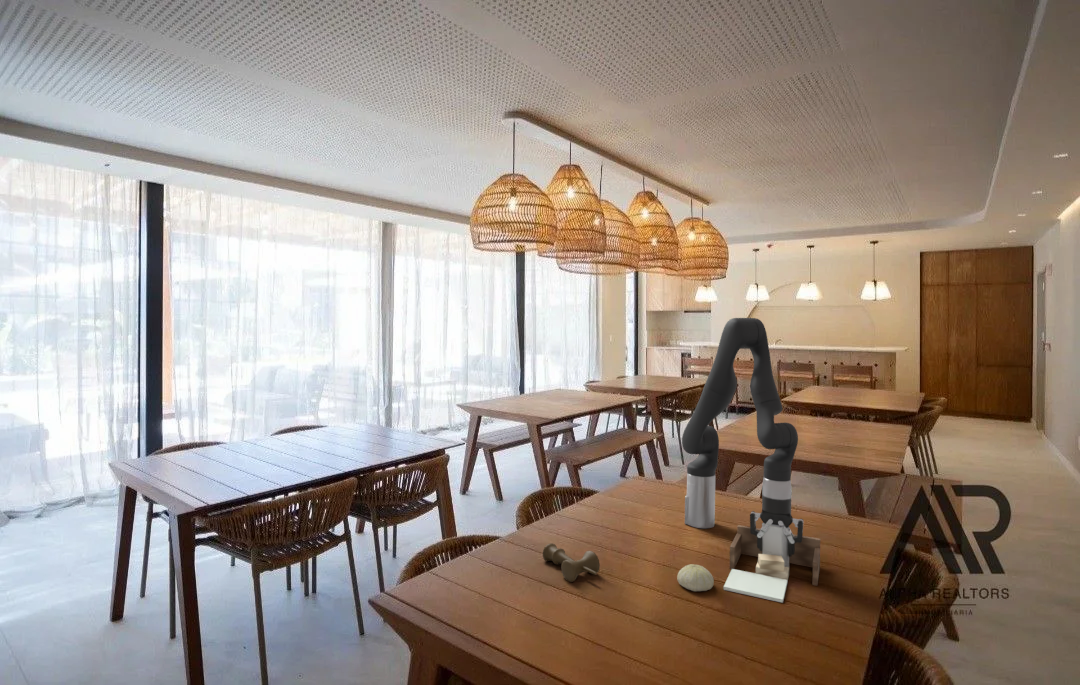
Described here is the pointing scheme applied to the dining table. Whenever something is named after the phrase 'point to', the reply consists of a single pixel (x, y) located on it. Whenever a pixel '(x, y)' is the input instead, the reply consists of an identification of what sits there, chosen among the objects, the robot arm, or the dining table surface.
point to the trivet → (756, 585)
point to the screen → (803, 555)
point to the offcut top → (771, 562)
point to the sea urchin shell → (695, 578)
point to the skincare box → (776, 543)
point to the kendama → (571, 562)
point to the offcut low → (773, 572)
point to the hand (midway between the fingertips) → (775, 552)
